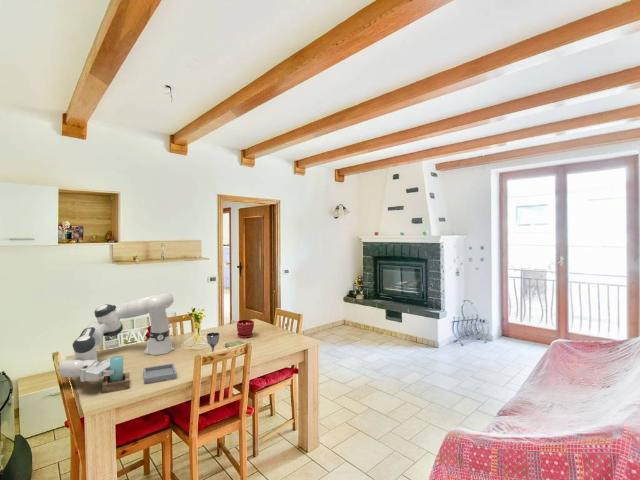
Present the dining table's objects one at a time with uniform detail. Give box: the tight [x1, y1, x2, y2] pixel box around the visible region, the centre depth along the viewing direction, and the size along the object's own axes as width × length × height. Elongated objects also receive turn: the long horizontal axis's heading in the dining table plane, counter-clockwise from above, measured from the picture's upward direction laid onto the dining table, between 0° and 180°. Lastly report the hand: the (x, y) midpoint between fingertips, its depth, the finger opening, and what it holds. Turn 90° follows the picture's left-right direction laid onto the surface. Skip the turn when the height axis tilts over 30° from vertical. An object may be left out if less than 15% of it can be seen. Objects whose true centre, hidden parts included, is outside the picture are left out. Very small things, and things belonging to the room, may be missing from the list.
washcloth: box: [224, 340, 245, 348], centre depth 243 cm, size 13×18×3 cm
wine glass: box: [206, 331, 220, 353], centre depth 224 cm, size 8×8×15 cm
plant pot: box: [236, 319, 255, 339], centre depth 269 cm, size 13×13×12 cm
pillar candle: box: [109, 355, 124, 383], centre depth 180 cm, size 6×6×15 cm
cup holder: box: [101, 372, 131, 394], centre depth 180 cm, size 12×12×4 cm
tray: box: [142, 363, 178, 385], centre depth 194 cm, size 16×16×3 cm
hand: (118, 369), depth 180 cm, fingers closed on pillar candle, 6 cm apart
